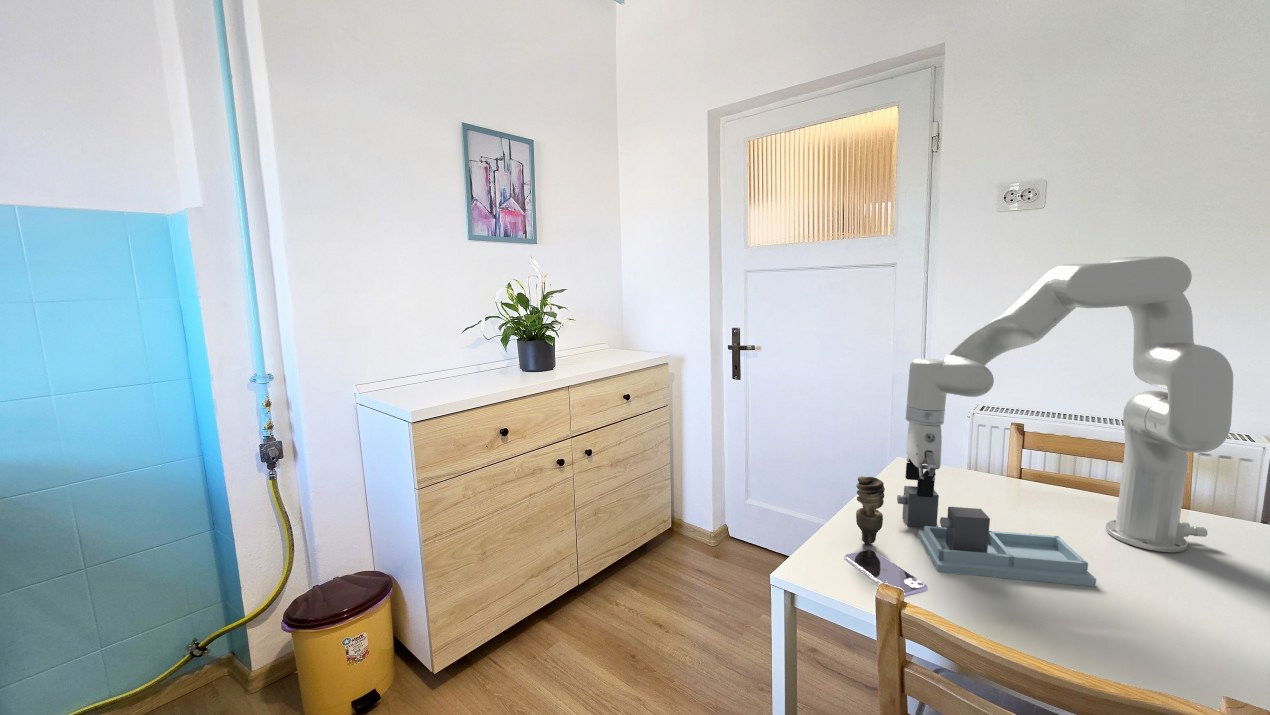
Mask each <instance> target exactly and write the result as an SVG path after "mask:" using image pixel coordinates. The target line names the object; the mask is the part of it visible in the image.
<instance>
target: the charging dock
mask: <svg viewBox="0 0 1270 715" xmlns="http://www.w3.org/2000/svg"><path fill="white" fill-rule="evenodd" d="M946 531H947V528H942V527H941V526H937V527H932V526H924V528H923V530H918V531H917V538H918V539H919V542H920V544H921V545H922V548H923V549H924V550H925V552H926V554H927V556H928V558H929V559H930V561H931V562H932V565H933V566H934V568H935V569H936V572H937V573H946V574H957V575H958V574H959V575H968V576H978V577H987V578H988V577H989V578H999V579H1010V580H1021V581H1032V582H1040V583H1041V582H1042V583H1053V584H1065V585H1074V586H1085V587H1094V588H1095V587H1096V585H1097V578H1096V577H1095V576H1094V575H1093V574H1091V573H1090V571H1089V568H1088V567H1089V562H1087V561H1086V560H1085V559H1084V558H1083V557H1082V556H1081V555H1080V554H1078V552H1076V551H1075V550H1074V549H1073V548H1072V547H1071V546H1070V545H1068V544H1067V543H1066V542H1065V541H1064V540H1063V539H1062V538H1061V537H1060V536H1058V535H1050V534H1049V535H1048V534H1038V533H1037V534H1035V533H1021V532H1010V531H995V530H989V537H988V549H987V553H982V552H970V551H959V550H950V549H949V547H948V546H947V544H946Z"/></svg>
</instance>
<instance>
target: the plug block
mask: <svg viewBox="0 0 1270 715" xmlns="http://www.w3.org/2000/svg"><path fill="white" fill-rule="evenodd" d="M896 502H897V504H898V505H902V520H903V521H904V524H905V525H906V527H907V528H915V529H916V528H917V529H918V528H919V529H924V526H932V527H938V526H937V524H938V511H939V510H938V509H939V494H938V493H937V491H936V490H935V489H934V494H933V497H920V496H917V485H916V486H915V485H914V486H913V485H903V495H901V494H897V496H896Z"/></svg>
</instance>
